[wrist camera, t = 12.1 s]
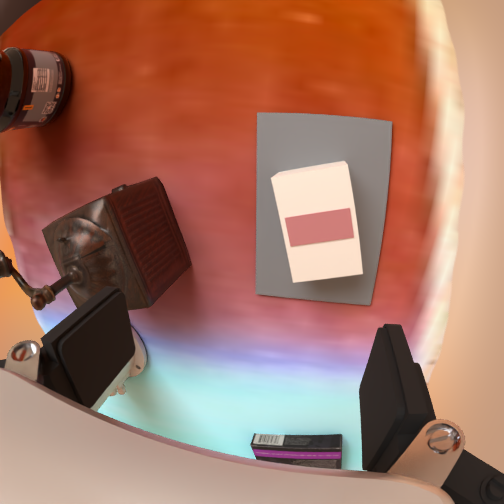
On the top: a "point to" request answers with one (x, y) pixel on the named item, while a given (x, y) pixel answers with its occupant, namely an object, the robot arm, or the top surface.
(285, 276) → the mat
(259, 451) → the box
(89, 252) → the vintage coffee grinder
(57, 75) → the supplement container
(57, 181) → the top surface
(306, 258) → the card box
